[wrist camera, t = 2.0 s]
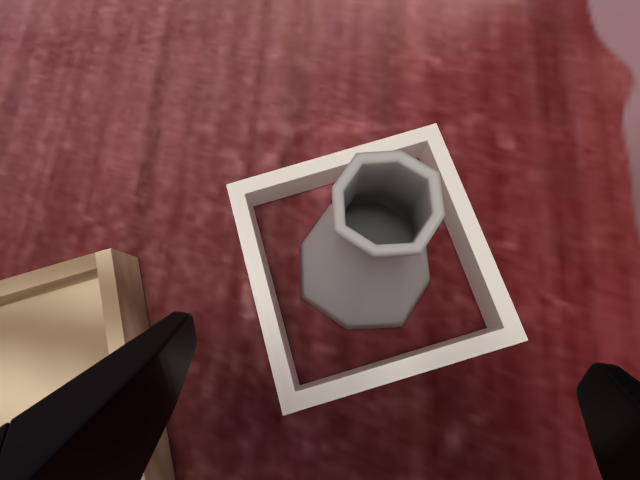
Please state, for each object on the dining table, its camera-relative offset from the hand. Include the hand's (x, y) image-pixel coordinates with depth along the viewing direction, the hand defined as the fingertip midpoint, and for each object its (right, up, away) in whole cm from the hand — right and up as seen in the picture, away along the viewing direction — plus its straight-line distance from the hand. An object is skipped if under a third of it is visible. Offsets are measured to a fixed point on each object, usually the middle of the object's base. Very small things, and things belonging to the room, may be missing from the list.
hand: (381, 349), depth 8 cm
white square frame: (+1, +1, +11) cm, 11 cm away
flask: (+1, +1, +12) cm, 12 cm away
